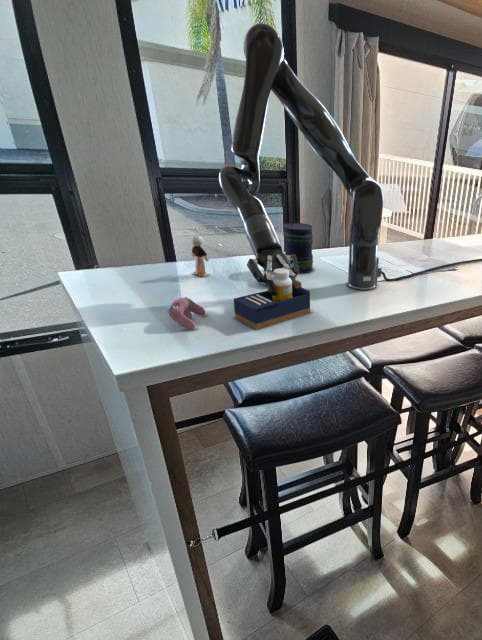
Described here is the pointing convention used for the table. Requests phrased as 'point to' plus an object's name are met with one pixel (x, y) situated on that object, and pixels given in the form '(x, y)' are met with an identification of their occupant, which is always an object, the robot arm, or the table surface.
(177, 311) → the video game controller
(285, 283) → the supplement bottle
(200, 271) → the grandmother figurine
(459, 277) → the table surface
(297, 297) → the navy storage tray
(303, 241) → the storage jar
